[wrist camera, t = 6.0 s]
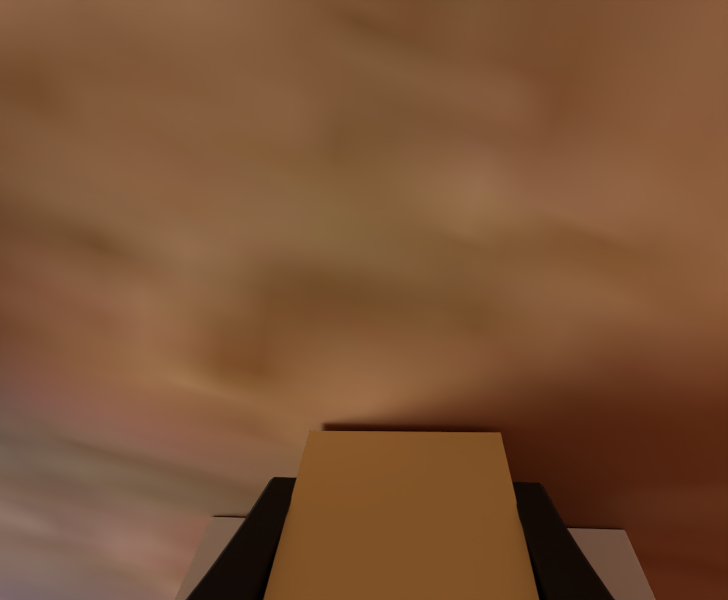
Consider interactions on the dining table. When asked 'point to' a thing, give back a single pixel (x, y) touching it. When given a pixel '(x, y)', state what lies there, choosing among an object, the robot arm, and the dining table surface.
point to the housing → (599, 546)
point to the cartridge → (402, 520)
